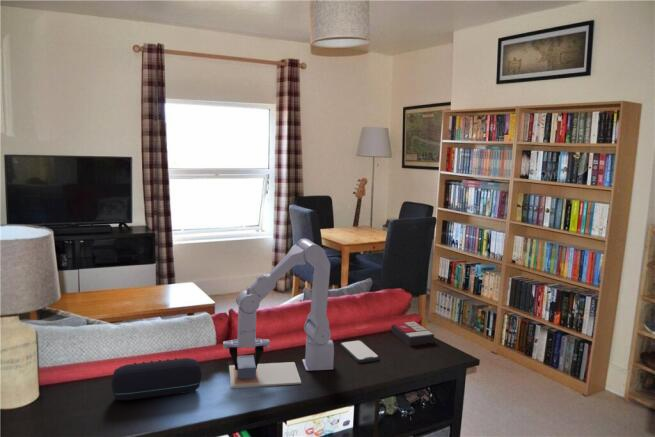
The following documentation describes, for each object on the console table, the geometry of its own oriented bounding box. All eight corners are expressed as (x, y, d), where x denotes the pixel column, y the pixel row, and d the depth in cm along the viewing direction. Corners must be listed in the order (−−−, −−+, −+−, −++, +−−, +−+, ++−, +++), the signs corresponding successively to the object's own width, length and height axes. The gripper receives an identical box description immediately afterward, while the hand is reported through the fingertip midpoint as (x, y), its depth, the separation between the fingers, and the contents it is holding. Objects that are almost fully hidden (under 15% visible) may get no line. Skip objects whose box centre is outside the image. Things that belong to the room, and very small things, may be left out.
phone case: (339, 346, 196) (358, 364, 181) (339, 342, 195) (358, 360, 181) (360, 343, 199) (380, 361, 185) (360, 339, 199) (380, 356, 184)
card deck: (255, 377, 164) (256, 367, 163) (238, 378, 163) (238, 368, 162) (253, 364, 173) (253, 354, 172) (236, 365, 171) (236, 355, 171)
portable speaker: (198, 380, 164) (198, 351, 162) (202, 396, 155) (203, 365, 153) (112, 391, 155) (111, 360, 153) (111, 409, 146) (110, 376, 144)
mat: (294, 363, 178) (294, 361, 178) (301, 383, 165) (301, 382, 165) (229, 367, 174) (229, 365, 173) (230, 388, 160) (230, 386, 160)
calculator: (414, 320, 215) (434, 333, 201) (414, 330, 215) (434, 343, 202) (391, 323, 211) (410, 335, 197) (390, 333, 211) (409, 346, 197)
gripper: (268, 322, 170) (267, 361, 173) (223, 324, 167) (222, 363, 170) (270, 331, 164) (269, 371, 166) (223, 333, 160) (223, 374, 163)
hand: (245, 368), depth 167 cm, fingers closed on card deck, 5 cm apart
